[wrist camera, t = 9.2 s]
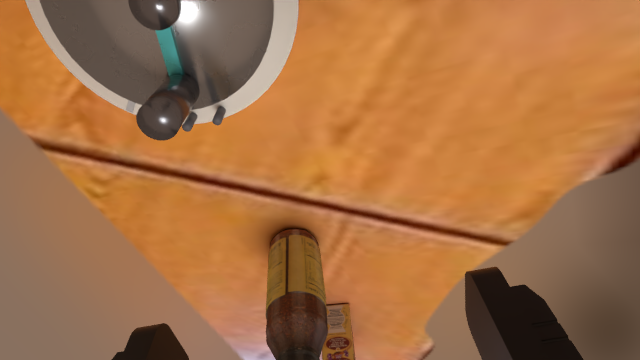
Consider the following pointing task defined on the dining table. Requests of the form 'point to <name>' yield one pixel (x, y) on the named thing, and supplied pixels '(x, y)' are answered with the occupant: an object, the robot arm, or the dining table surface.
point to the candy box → (338, 334)
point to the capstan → (165, 51)
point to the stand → (236, 102)
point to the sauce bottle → (295, 297)
